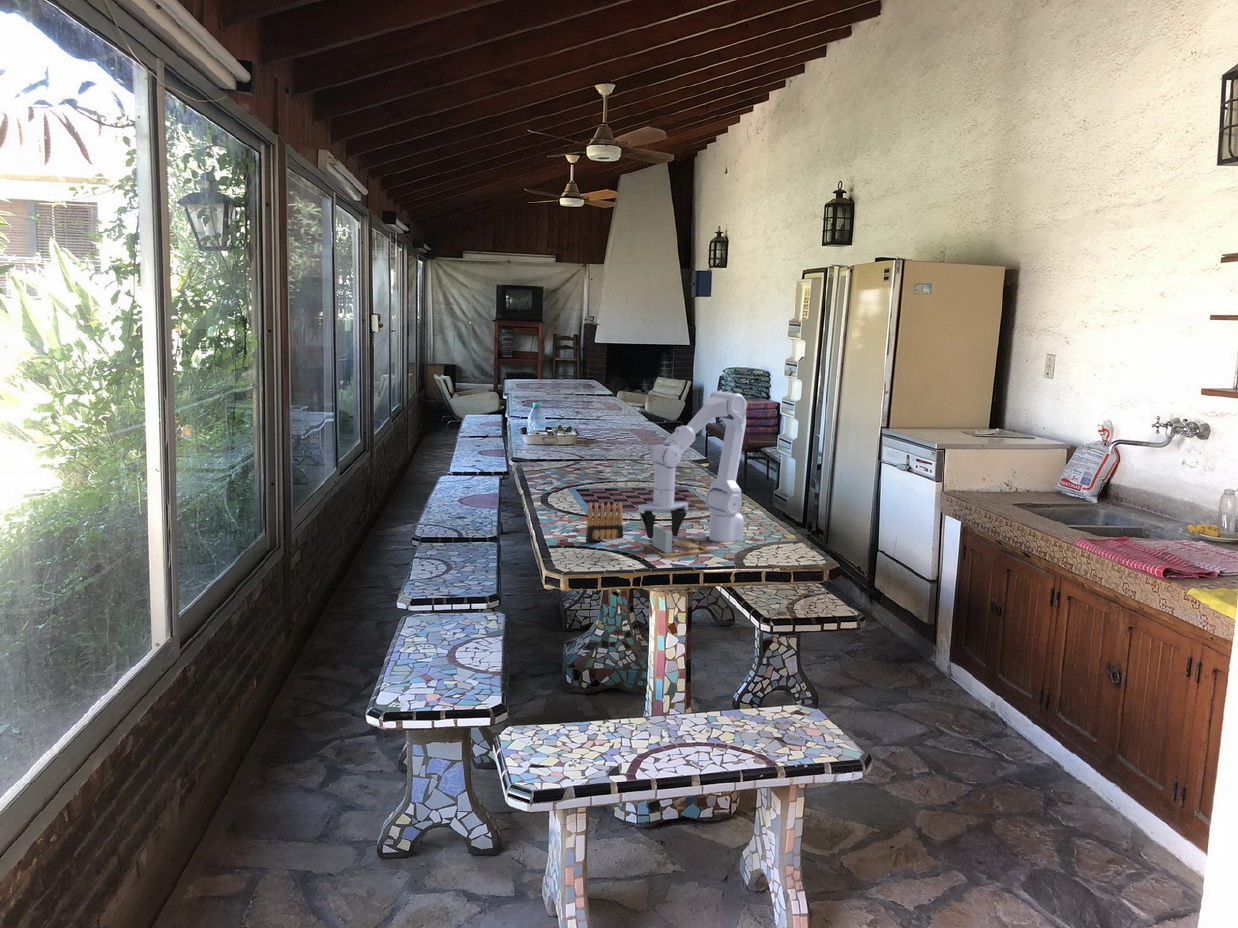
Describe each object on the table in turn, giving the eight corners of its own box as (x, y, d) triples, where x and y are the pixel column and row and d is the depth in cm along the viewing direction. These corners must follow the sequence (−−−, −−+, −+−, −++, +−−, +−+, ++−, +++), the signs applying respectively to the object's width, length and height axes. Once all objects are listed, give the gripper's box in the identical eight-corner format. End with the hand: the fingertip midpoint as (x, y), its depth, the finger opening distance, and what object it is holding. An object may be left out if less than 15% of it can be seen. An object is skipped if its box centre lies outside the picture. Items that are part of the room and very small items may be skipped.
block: (658, 549, 244) (659, 525, 243) (671, 556, 237) (672, 532, 236) (652, 550, 243) (653, 525, 242) (665, 557, 236) (666, 532, 235)
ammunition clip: (621, 540, 252) (622, 500, 250) (623, 542, 250) (624, 501, 248) (585, 541, 250) (586, 501, 248) (586, 543, 248) (587, 502, 246)
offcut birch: (683, 544, 248) (683, 541, 248) (700, 553, 239) (700, 550, 239) (672, 545, 246) (673, 542, 246) (689, 555, 237) (689, 551, 237)
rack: (686, 545, 249) (686, 538, 248) (710, 557, 237) (710, 550, 236) (641, 549, 243) (642, 542, 243) (663, 562, 231) (663, 555, 231)
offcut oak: (683, 542, 247) (683, 539, 247) (698, 549, 240) (698, 546, 240) (674, 543, 245) (674, 540, 245) (689, 550, 239) (689, 547, 238)
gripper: (680, 484, 243) (678, 531, 246) (634, 487, 238) (632, 535, 240) (692, 489, 237) (690, 537, 239) (645, 492, 231) (643, 541, 234)
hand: (662, 536), depth 239 cm, fingers open, 7 cm apart
